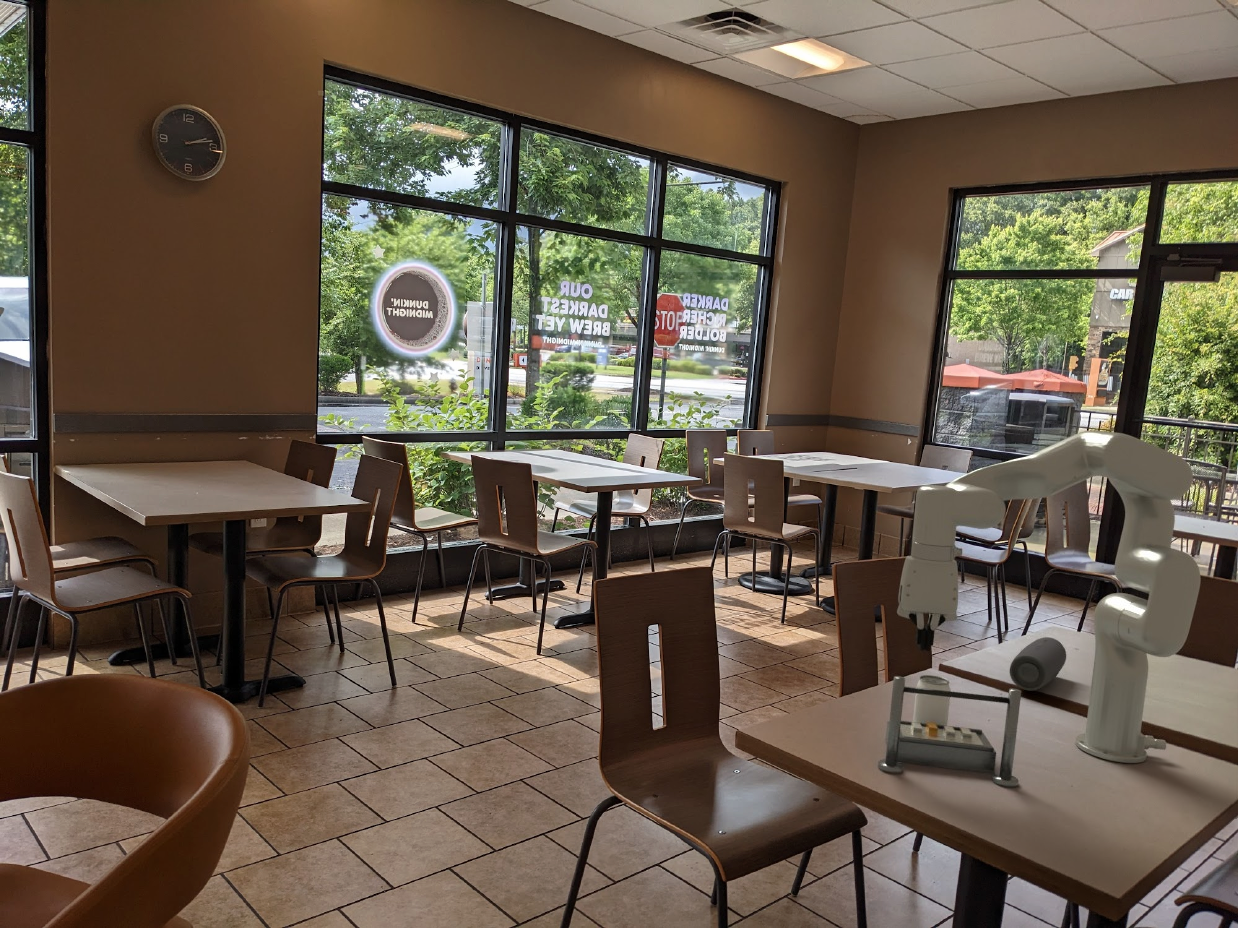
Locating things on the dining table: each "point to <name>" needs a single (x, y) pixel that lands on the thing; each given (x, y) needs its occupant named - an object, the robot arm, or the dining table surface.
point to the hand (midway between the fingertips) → (923, 648)
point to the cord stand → (899, 688)
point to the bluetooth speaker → (1038, 663)
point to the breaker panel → (944, 747)
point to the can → (932, 701)
